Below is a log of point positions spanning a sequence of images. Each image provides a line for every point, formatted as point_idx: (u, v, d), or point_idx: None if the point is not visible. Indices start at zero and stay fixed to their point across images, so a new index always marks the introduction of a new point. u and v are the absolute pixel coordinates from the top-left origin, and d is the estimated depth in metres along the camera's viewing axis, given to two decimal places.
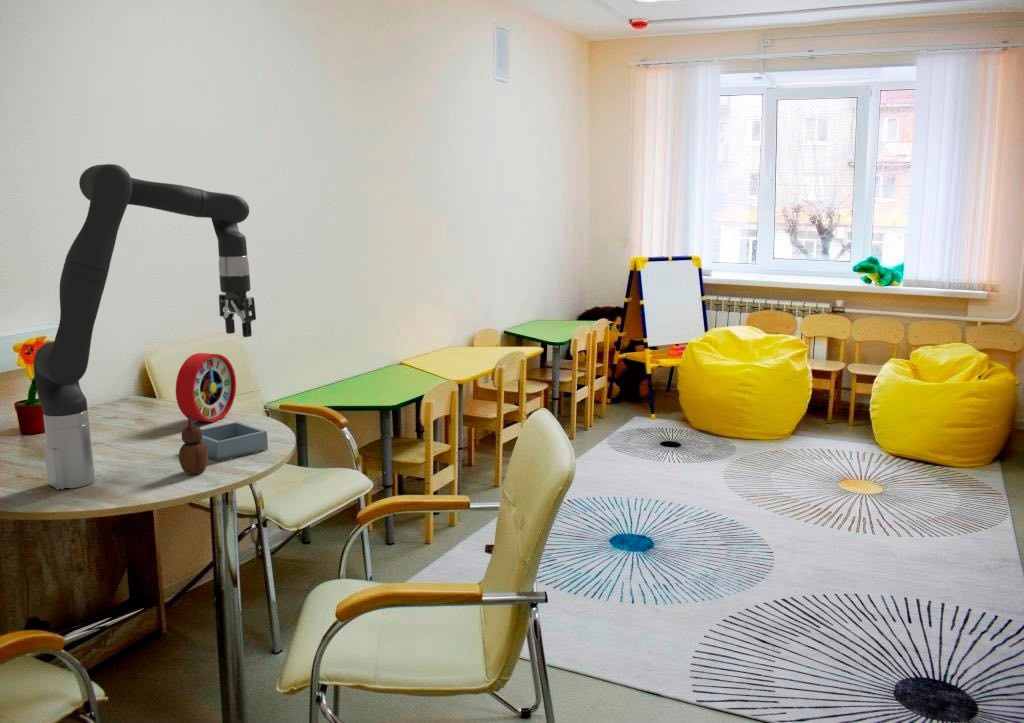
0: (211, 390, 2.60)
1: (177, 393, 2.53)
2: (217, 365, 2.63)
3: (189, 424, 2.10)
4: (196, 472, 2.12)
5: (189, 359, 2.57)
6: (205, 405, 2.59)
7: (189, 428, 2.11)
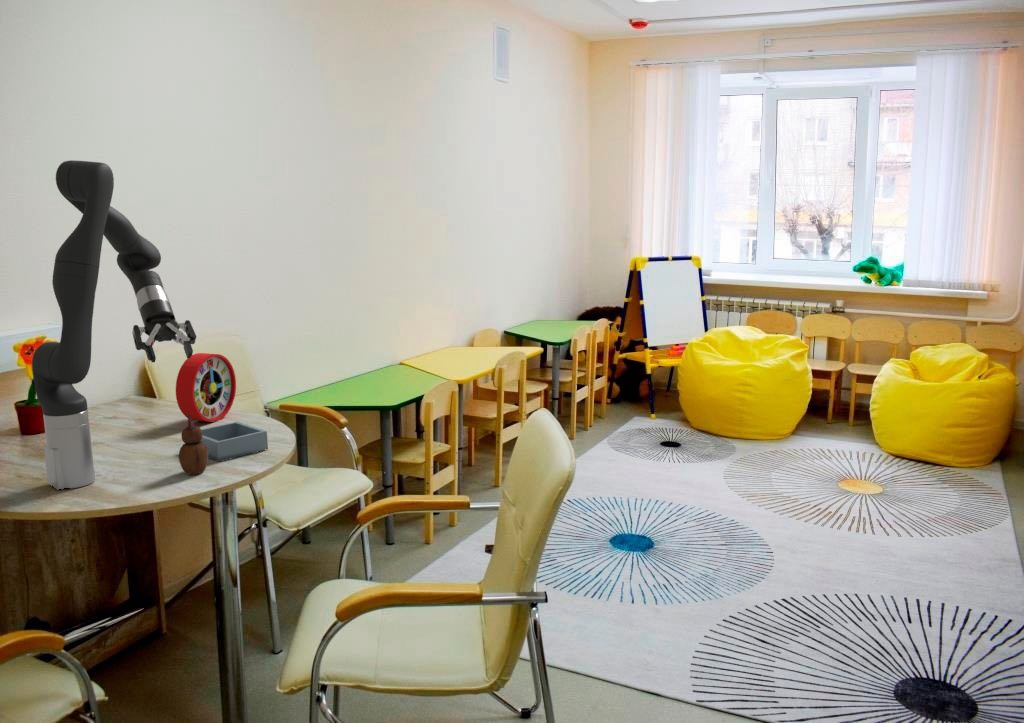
0: (211, 390, 2.60)
1: (177, 393, 2.53)
2: (217, 365, 2.63)
3: (189, 424, 2.10)
4: (196, 472, 2.12)
5: (189, 359, 2.57)
6: (205, 405, 2.59)
7: (189, 428, 2.11)
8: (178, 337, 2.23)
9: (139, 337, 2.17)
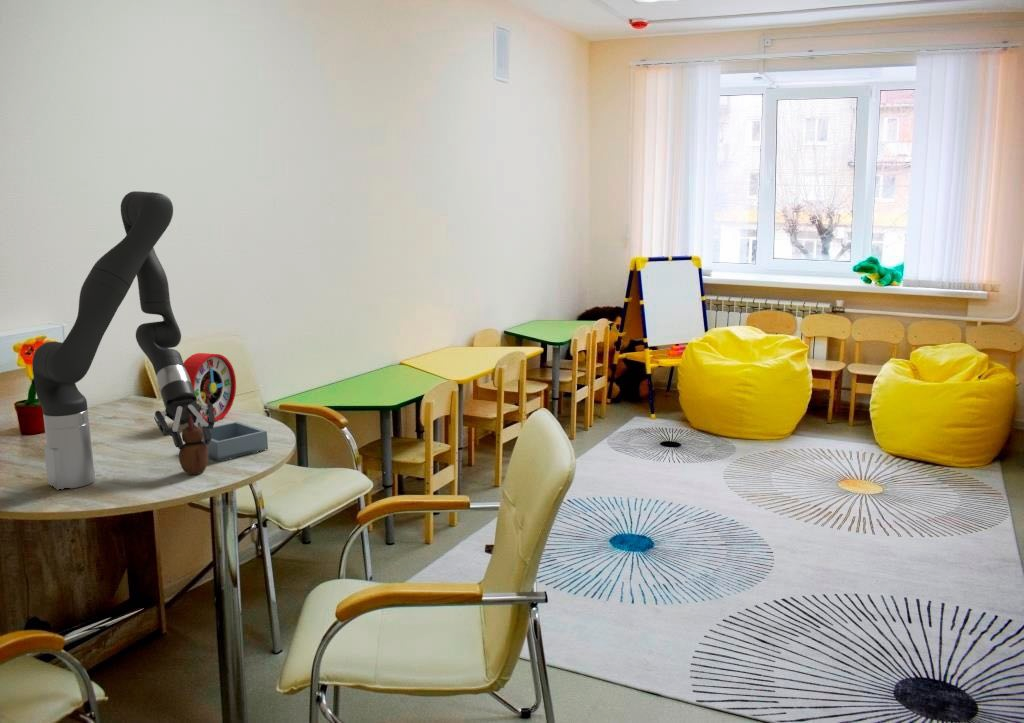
0: (211, 390, 2.60)
1: None
2: (217, 365, 2.63)
3: (190, 424, 2.10)
4: (196, 472, 2.12)
5: (189, 359, 2.57)
6: None
7: (189, 428, 2.11)
8: (197, 421, 2.15)
9: (164, 423, 2.11)
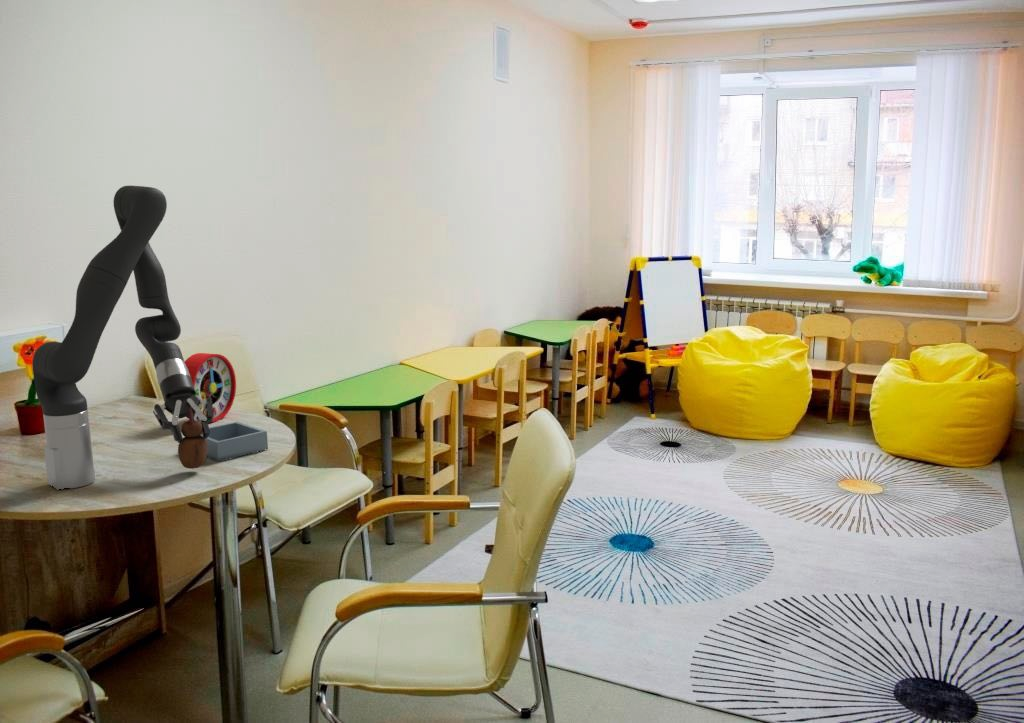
0: (211, 390, 2.60)
1: None
2: (217, 365, 2.63)
3: (190, 418, 2.10)
4: (194, 466, 2.12)
5: (189, 359, 2.57)
6: None
7: (190, 422, 2.11)
8: (196, 415, 2.15)
9: (164, 416, 2.10)
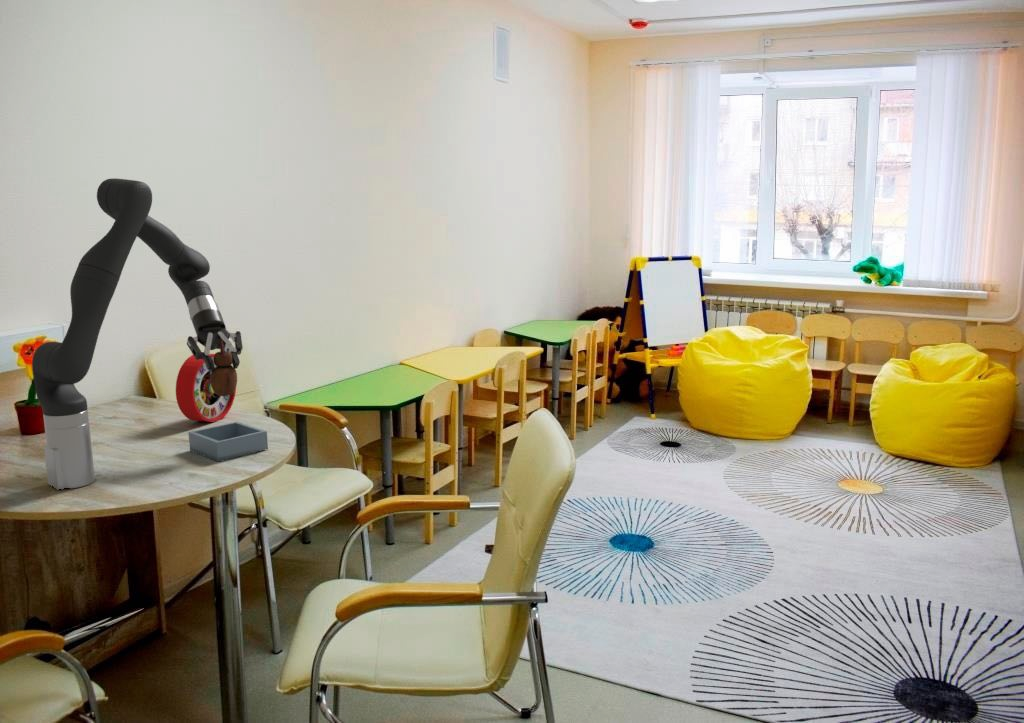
0: (211, 390, 2.60)
1: (177, 393, 2.53)
2: None
3: (221, 348, 2.26)
4: (226, 394, 2.28)
5: (189, 359, 2.57)
6: (205, 405, 2.59)
7: (221, 352, 2.26)
8: (226, 347, 2.30)
9: (197, 347, 2.26)
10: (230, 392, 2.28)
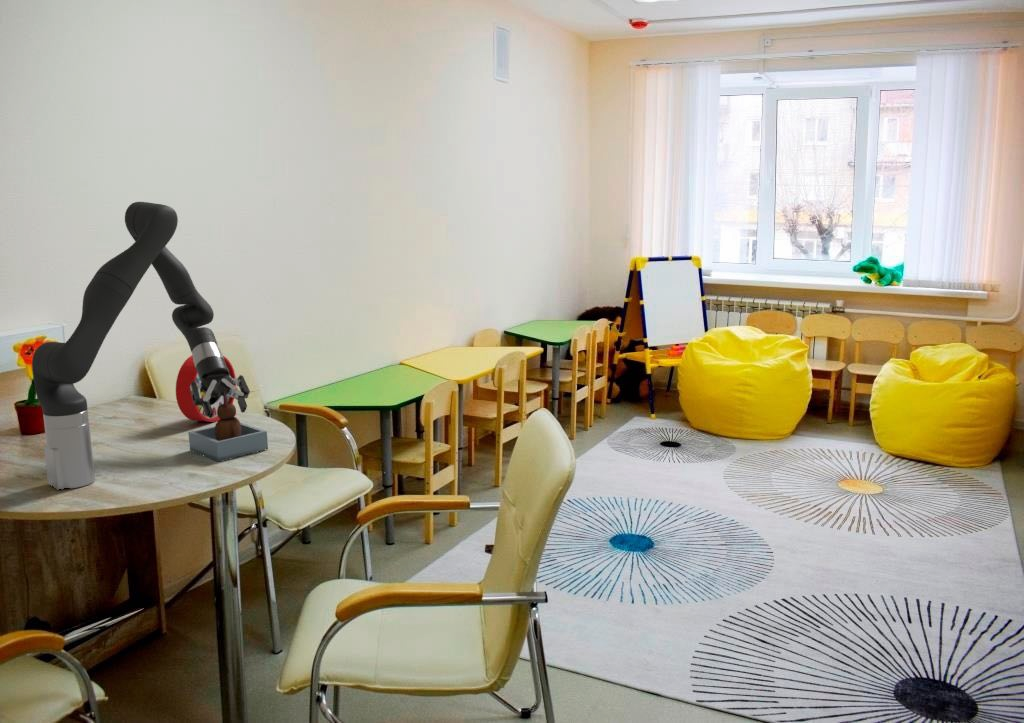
0: None
1: (177, 393, 2.53)
2: None
3: (224, 401, 2.29)
4: None
5: (189, 359, 2.57)
6: None
7: (224, 405, 2.29)
8: (233, 392, 2.33)
9: (197, 393, 2.28)
10: None
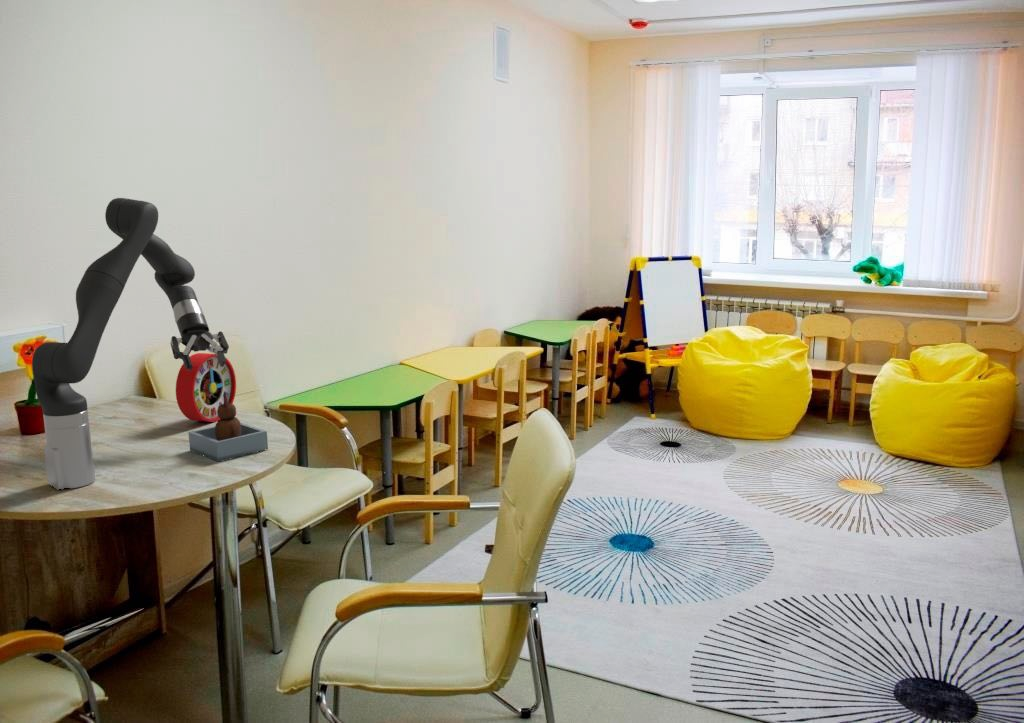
0: (211, 390, 2.60)
1: (177, 393, 2.53)
2: (217, 365, 2.63)
3: (225, 401, 2.29)
4: None
5: None
6: (205, 405, 2.59)
7: (224, 405, 2.29)
8: (212, 347, 2.41)
9: (177, 347, 2.36)
10: None
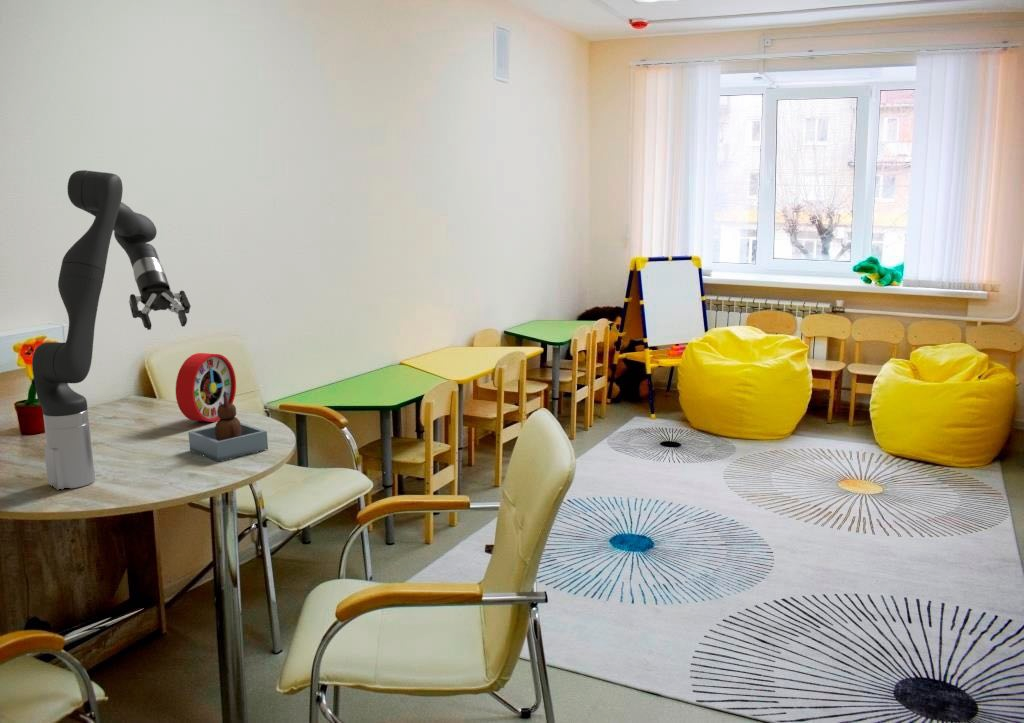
0: (211, 390, 2.60)
1: (177, 393, 2.53)
2: (217, 365, 2.63)
3: (225, 401, 2.29)
4: None
5: (189, 359, 2.57)
6: (205, 405, 2.59)
7: (224, 405, 2.29)
8: (173, 306, 2.32)
9: (135, 305, 2.27)
10: None
